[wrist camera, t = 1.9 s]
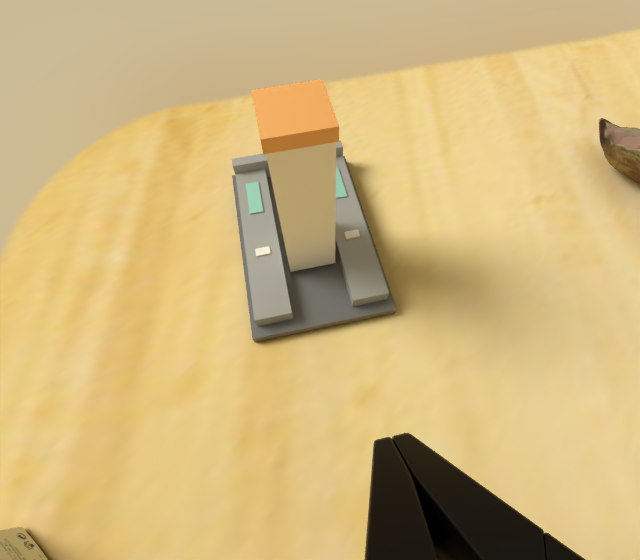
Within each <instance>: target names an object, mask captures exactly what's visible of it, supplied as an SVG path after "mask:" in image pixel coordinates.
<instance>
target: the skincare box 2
mask: <svg viewBox="0 0 640 560" xmlns="http://www.w3.org/2000/svg"><path fill="white" fill-rule="evenodd" d="M0 560H48V559H47V557H46V556H45V555H44V553H43V552H42V551H41V549H40V548H39V547H38V545H37V544H36V543H35V542H34V540H33V539H32V538H31V537H30V536H29V535H28V533H27V532H26V531H25V530H24V529H23V528H22V527H14V528H9V529H4V530H0Z"/></svg>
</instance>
